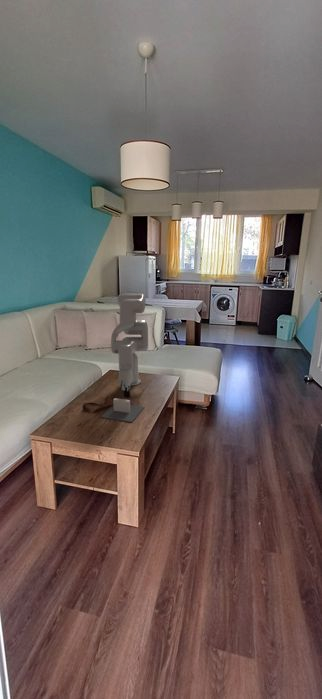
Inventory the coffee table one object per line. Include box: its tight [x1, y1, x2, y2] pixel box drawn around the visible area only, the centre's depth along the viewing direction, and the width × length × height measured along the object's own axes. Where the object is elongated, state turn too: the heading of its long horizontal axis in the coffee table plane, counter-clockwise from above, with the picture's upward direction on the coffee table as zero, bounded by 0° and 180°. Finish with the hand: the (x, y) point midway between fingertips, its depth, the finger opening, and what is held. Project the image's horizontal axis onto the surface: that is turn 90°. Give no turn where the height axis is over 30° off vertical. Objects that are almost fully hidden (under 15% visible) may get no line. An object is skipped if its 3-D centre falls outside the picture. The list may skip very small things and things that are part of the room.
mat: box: [100, 404, 145, 424], centre depth 179 cm, size 18×18×1 cm
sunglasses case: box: [82, 395, 114, 414], centre depth 186 cm, size 18×7×7 cm
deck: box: [112, 397, 131, 413], centre depth 179 cm, size 2×9×6 cm, turn 73°
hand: (126, 397), depth 185 cm, fingers closed
